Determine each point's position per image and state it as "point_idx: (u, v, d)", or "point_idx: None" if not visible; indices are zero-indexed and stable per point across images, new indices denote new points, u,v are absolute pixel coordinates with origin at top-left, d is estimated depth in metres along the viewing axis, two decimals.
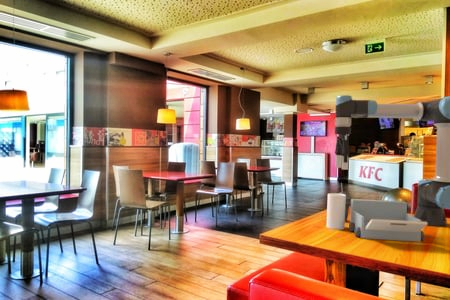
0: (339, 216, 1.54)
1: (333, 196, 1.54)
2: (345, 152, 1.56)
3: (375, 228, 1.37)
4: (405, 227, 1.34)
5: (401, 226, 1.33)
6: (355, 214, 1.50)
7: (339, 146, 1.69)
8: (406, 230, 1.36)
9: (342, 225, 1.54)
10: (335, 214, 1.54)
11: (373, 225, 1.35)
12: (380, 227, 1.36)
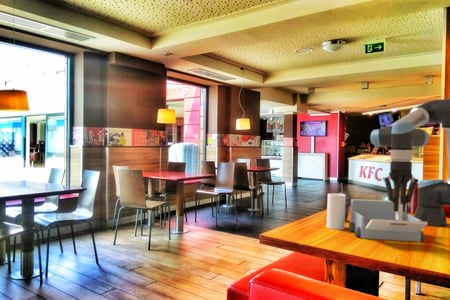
0: (339, 216, 1.54)
1: (333, 196, 1.54)
2: (389, 198, 1.32)
3: (375, 228, 1.37)
4: (405, 227, 1.34)
5: (401, 226, 1.33)
6: (355, 214, 1.50)
7: (401, 187, 1.31)
8: (406, 230, 1.36)
9: (342, 225, 1.54)
10: (335, 214, 1.54)
11: (373, 225, 1.35)
12: (380, 227, 1.36)
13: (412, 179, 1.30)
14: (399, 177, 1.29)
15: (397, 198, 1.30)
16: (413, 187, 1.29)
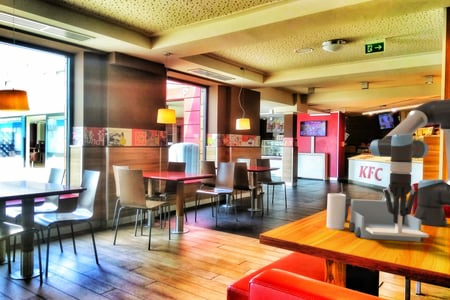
0: (339, 216, 1.54)
1: (333, 196, 1.54)
2: (389, 210, 1.32)
3: None
4: None
5: None
6: (355, 214, 1.50)
7: (400, 199, 1.31)
8: None
9: (342, 225, 1.54)
10: (335, 214, 1.54)
11: None
12: None
13: (412, 191, 1.30)
14: (399, 189, 1.29)
15: (397, 210, 1.30)
16: (413, 199, 1.29)
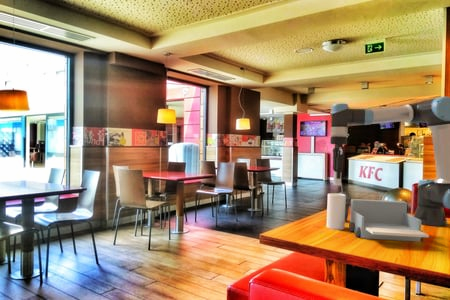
0: (339, 216, 1.54)
1: (333, 196, 1.54)
2: (338, 168, 1.53)
3: None
4: None
5: None
6: (355, 214, 1.50)
7: (336, 158, 1.59)
8: None
9: (342, 225, 1.54)
10: (335, 214, 1.54)
11: None
12: None
13: None
14: None
15: None
16: None
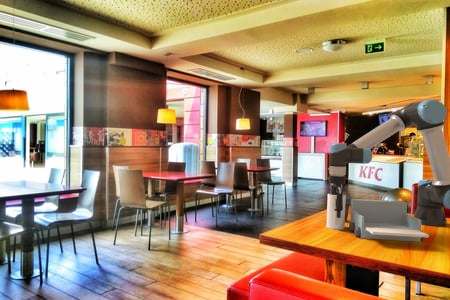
0: None
1: (333, 196, 1.54)
2: (338, 208, 1.50)
3: None
4: None
5: None
6: (355, 214, 1.50)
7: None
8: None
9: (342, 225, 1.54)
10: None
11: None
12: None
13: None
14: None
15: None
16: None
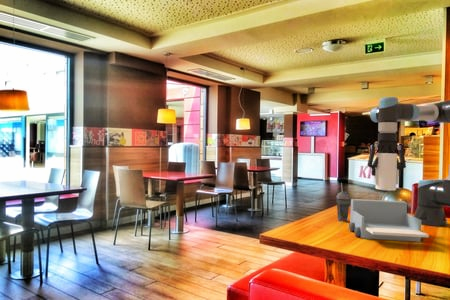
0: (377, 175, 1.46)
1: None
2: (368, 164, 1.47)
3: None
4: None
5: None
6: (355, 214, 1.50)
7: None
8: None
9: (379, 185, 1.44)
10: None
11: None
12: None
13: (398, 147, 1.44)
14: (385, 147, 1.44)
15: (376, 164, 1.45)
16: (402, 153, 1.44)
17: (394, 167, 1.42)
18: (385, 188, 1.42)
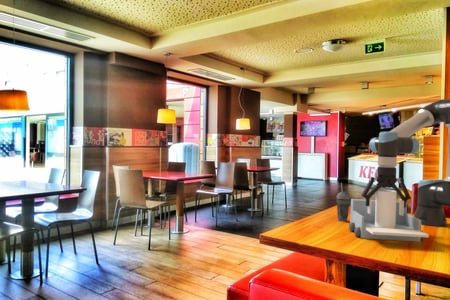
0: (376, 212, 1.46)
1: None
2: (362, 194, 1.47)
3: None
4: None
5: None
6: (355, 214, 1.50)
7: (394, 189, 1.46)
8: None
9: (379, 223, 1.44)
10: (375, 209, 1.47)
11: None
12: None
13: (398, 180, 1.45)
14: (385, 181, 1.44)
15: (370, 195, 1.45)
16: (404, 186, 1.44)
17: (393, 205, 1.42)
18: (384, 226, 1.42)
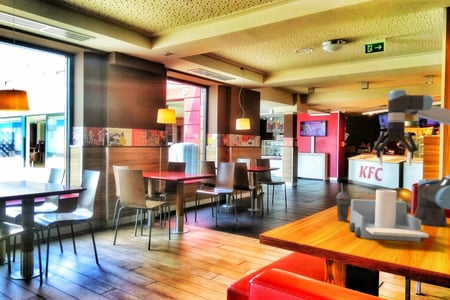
0: (376, 212, 1.46)
1: None
2: (373, 147, 1.64)
3: None
4: None
5: None
6: (355, 214, 1.50)
7: (402, 142, 1.62)
8: None
9: (379, 223, 1.44)
10: (375, 209, 1.47)
11: None
12: None
13: (406, 134, 1.61)
14: (394, 135, 1.60)
15: (381, 147, 1.62)
16: (411, 139, 1.60)
17: (393, 205, 1.42)
18: (384, 226, 1.42)
